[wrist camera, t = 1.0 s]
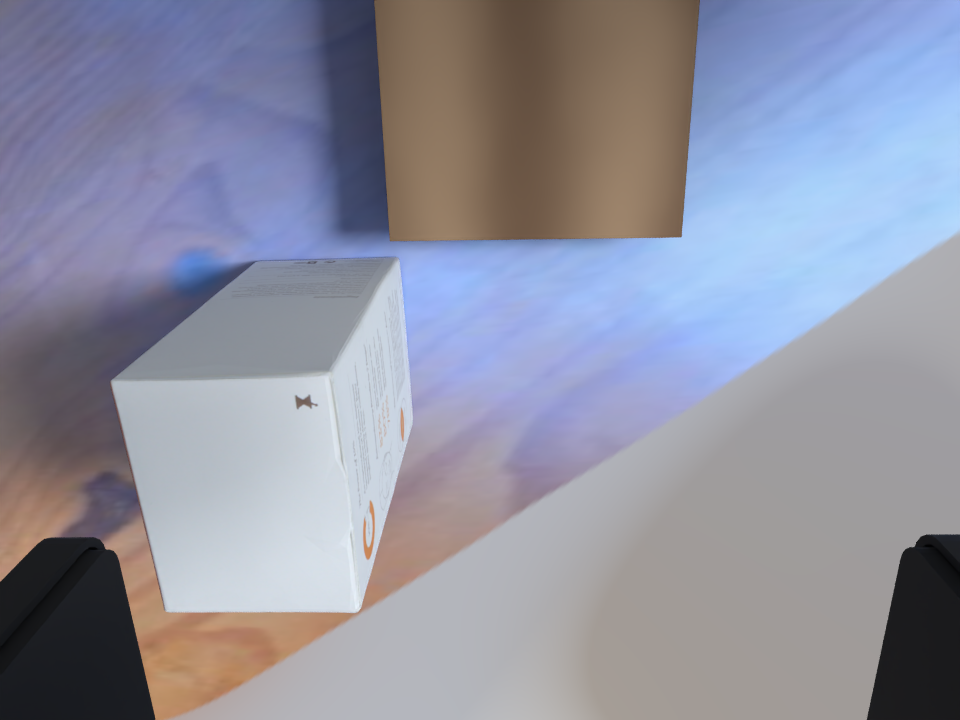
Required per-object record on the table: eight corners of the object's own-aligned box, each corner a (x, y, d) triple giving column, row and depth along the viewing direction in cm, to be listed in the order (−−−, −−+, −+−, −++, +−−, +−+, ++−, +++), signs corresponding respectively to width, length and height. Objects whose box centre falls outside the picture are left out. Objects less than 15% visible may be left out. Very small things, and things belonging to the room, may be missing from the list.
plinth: (693, -91, 27) (714, -109, 24) (670, 226, 31) (686, 242, 28) (376, -81, 28) (361, -97, 25) (396, 230, 32) (385, 246, 29)
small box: (254, 258, 32) (102, 375, 20) (401, 254, 32) (336, 369, 20) (280, 428, 35) (160, 618, 23) (415, 425, 35) (365, 617, 23)
